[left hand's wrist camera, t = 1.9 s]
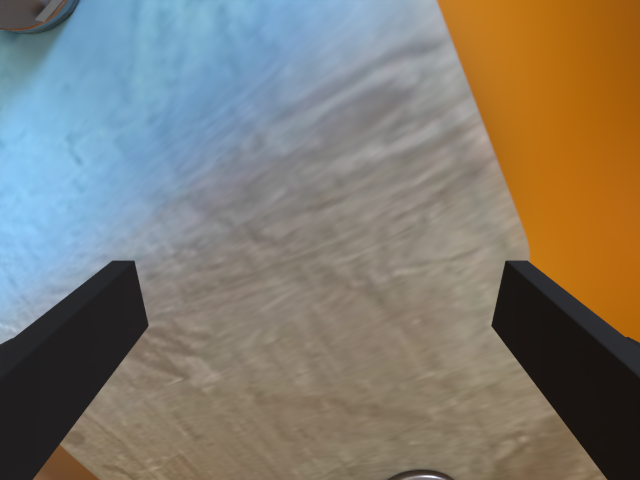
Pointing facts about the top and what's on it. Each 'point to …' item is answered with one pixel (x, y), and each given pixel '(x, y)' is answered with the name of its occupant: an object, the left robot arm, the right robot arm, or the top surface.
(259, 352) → the top surface
